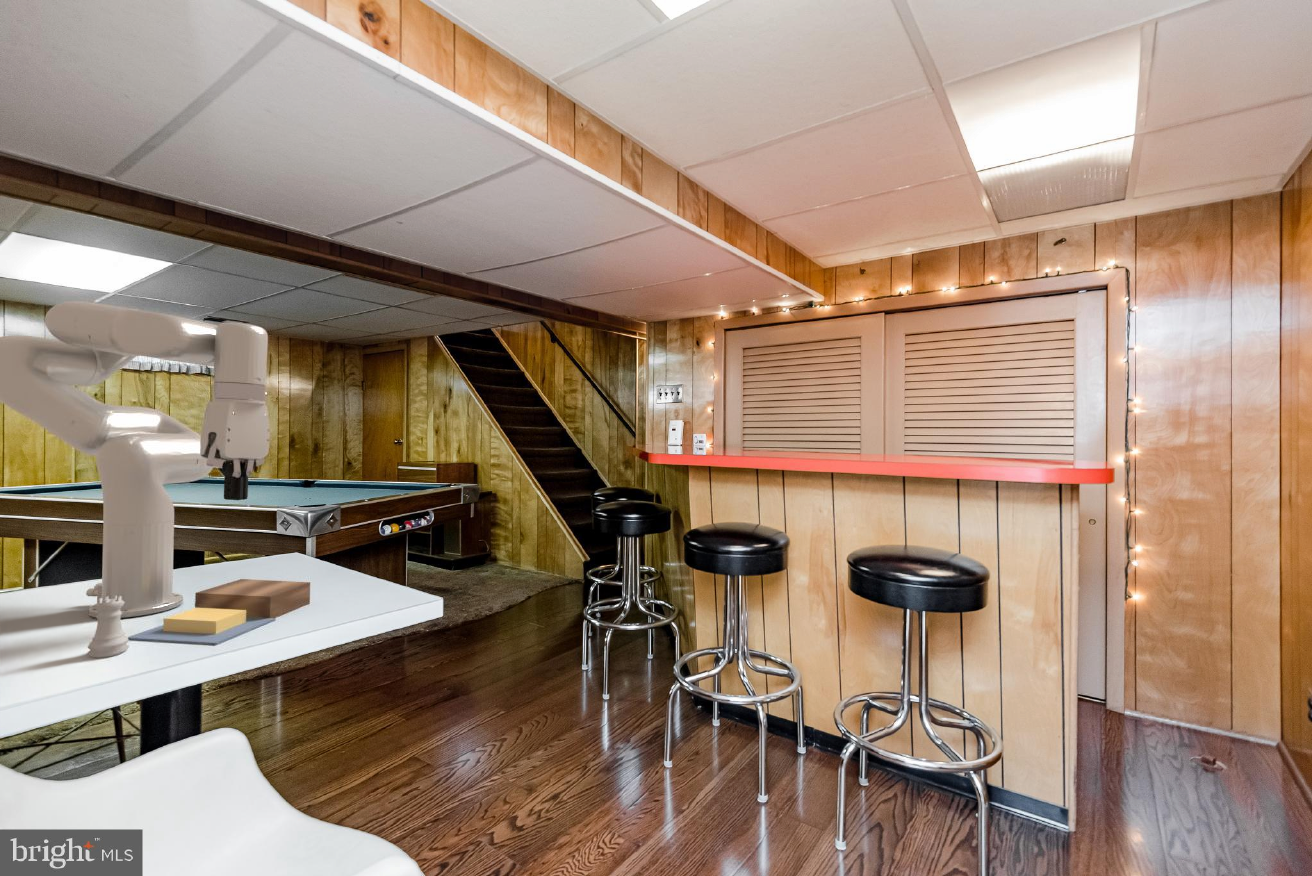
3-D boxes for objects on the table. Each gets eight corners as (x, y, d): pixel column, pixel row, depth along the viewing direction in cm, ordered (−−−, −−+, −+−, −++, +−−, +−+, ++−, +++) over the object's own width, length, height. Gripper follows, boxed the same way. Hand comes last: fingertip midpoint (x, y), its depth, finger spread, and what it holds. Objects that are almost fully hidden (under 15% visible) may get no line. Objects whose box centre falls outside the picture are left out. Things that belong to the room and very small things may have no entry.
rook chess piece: (105, 647, 85) (106, 593, 85) (137, 647, 86) (138, 593, 86) (77, 659, 81) (78, 602, 81) (111, 659, 81) (113, 602, 81)
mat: (126, 639, 89) (126, 637, 89) (194, 615, 101) (194, 614, 101) (216, 644, 87) (216, 642, 87) (275, 620, 99) (275, 618, 99)
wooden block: (194, 615, 101) (195, 592, 101) (240, 599, 111) (241, 579, 111) (270, 619, 100) (270, 596, 100) (309, 603, 110) (310, 582, 110)
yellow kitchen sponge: (196, 607, 98) (196, 619, 98) (163, 618, 92) (163, 631, 92) (246, 610, 97) (246, 622, 97) (216, 621, 91) (216, 634, 91)
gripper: (255, 397, 109) (251, 494, 109) (180, 390, 94) (175, 502, 94) (291, 398, 108) (287, 496, 108) (221, 392, 93) (216, 505, 93)
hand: (235, 499), depth 101 cm, fingers closed
